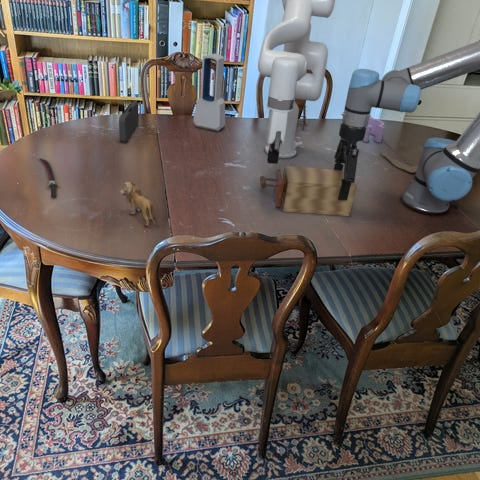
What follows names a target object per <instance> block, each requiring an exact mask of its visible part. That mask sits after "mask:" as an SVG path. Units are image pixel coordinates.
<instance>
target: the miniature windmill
mask: <svg viewBox="0 0 480 480" xmlns="http://www.w3.org/2000/svg"><path fill="white" fill-rule="evenodd" d="M306 73H309V70H307V72H306ZM294 100H295V102H296V103H297V100H298V99H294ZM306 101H307V100H303V105H302V104H297V106H298V109H299V111H302V115H298V118H302V120H299V119H298V120H297V122H300V123H302V131H305V126H306V124H307V122H306V121H307V120H306V119H307V116H306V115H307V114H306V109H307V106H306V105H307V104H306ZM299 107H303V108H299Z"/></svg>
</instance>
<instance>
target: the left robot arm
mask: <svg viewBox="0 0 480 480" xmlns="http://www.w3.org/2000/svg"><path fill="white" fill-rule="evenodd" d="M281 2H282V8H283V16H282V20H281V22H280V23H278V24H277V25H275V26H274V27H273V28H272V29H270V31H268V33H267V34H266V35H265V37H264V38H263V41H262V43H261V47H260V50H259V51H260V52H259V56H258V61H257V70H258V73H259V74H260V75H261V76H262V77H265V78H270V79H269V80H270V81H269V88H268V96H267V104H266V108H267V109H268V110H269V111H268V117H267V121H266V122H267V123H266V129H265V139H266V143H267V144H266V146H265V147H264V148H265V149H264V151H265V153H266V154H267V159H266V161H267V164H272V165H274V164H275V165H278V163H279V159H289V158H293V157H295V156H296V155H297V150H296V148H297V147H302V146H303V145H304V144H303V141H296V140H295V139H296V133H297V127H298V121H297V120H299V119H298V118H299V117H298V116H299V113H300V110H299V109H300V108H299V106H297V105H298V104H297V101H296V102H295V100H296V99H297V100H301V101H304V100H306V101H309V102H317V101H318V100H319V99H320V98H321V95H322V93H323V86H324V82H325V81H324V80H325V76H326V70H327V64H328V56H329V49H328V47H327V45H326V44H325V43H324V42H321V41H320V42H319V41H313V40H310V36H311V32H312V23H311V21H312V17H317V18H318V17H319V18H325V19H328V18H330V17H331V16H332V14H333V11H334V8H335V4H336V0H281ZM282 45H283V50H276V48H277V47H279V46H282ZM307 70H308V71H311V72H312V73H309V72H308V73H307ZM298 108H299V109H298Z"/></svg>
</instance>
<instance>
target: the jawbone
mask: <svg viewBox="0 0 480 480" xmlns="http://www.w3.org/2000/svg"><path fill="white" fill-rule="evenodd" d="M380 155H381V156H382V157H384V158H385V159H387V161H389V162H390V163H391V164H392V165H393V166H394V167H395V168H398V169H400V170H403V171H406V172H407V173H411V174H414V173H415V174H416V171H417V168H418V165H419V164H417V165H407V164H404V163H403V162H402V161H399V160H398V159H397V158H394V159H393V158H391V157H390V156H389V155H387V154H386V152H381V153H380Z"/></svg>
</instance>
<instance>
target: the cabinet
mask: <svg viewBox="0 0 480 480" xmlns="http://www.w3.org/2000/svg"><path fill="white" fill-rule="evenodd" d="M285 174H286V179H287V189H286V195H285V201H284V199H283V194H282V195H281V201H280V202H281V206H282V210H283V212H287V213H288V212H289V213H301V214H317V215H328V216H329V215H330V216H345V217H350V215H351V211H352V207H353V203H354V199H355V195H356V191H357V184H356V182H354V183H351V186H350V190H349V194H348V198H347V200H338V196H339V192H340V188H341V183H342V181H341V180H342V179H344V169H343V170H334V169H329V168H315V167H304V166H302V167H301V166H290V165H284V168H283V175H282V179H283V185H284V179H285ZM282 191H283V189H282Z"/></svg>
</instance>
